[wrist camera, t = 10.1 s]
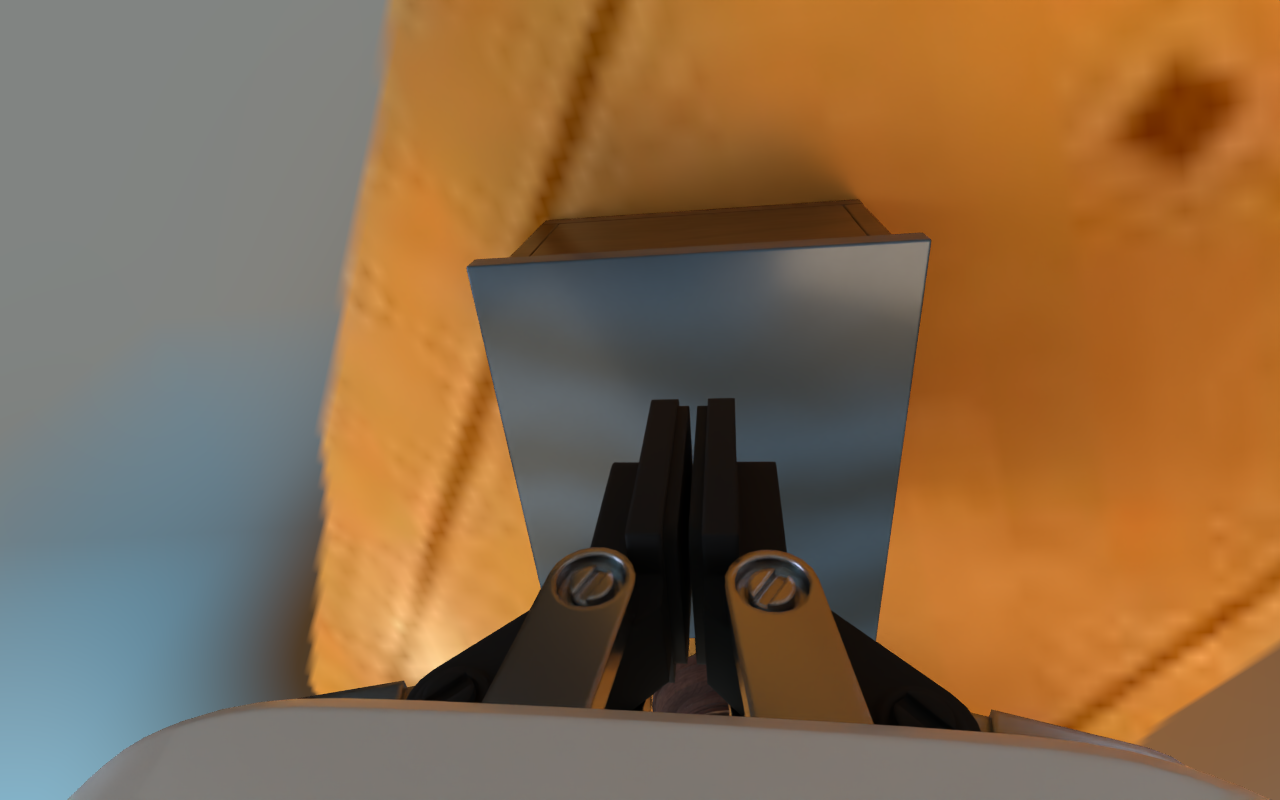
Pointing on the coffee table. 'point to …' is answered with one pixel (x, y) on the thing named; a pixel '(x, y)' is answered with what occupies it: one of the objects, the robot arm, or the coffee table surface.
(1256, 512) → the coffee table surface
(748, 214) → the brown box
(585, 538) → the blue-grey square panel
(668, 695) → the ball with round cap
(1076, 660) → the coffee table surface
